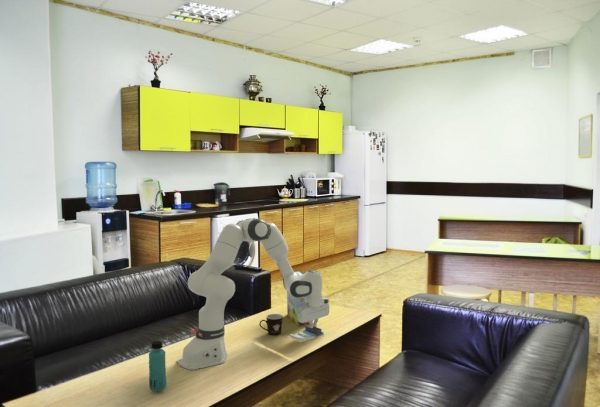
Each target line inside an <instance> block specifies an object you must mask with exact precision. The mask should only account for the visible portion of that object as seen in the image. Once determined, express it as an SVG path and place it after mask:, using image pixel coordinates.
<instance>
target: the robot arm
mask: <svg viewBox="0 0 600 407" xmlns="http://www.w3.org/2000/svg"><path fill="white" fill-rule="evenodd" d="M245 242H250V243H254V242H260V243H261V244H262V246H263V248H264V249H265V252H266V253H267V255H268V256H269V258H270V259H271V260H272V261H273V262H274V263H275V265H276V266H277V268H278V270H279V272H280V274H281V276H282V285H283V288H284V289H285V290H286V292H287V291H289V293H290V294H291V295H292V296H294V297H297V298H300V297H304V296H305V304H302V305H301V306H300V307H299V310H298V316H297V320H298V322H300V323H305V322H308V321H309V323H310V324H309V325H310V327H311V328H314V327H317V325H318V322H319V319H321V318H324V317H326V316H329V315H330V304H329V303H330V298H327V297H323V292H322V290H323V276H322V273H321V272H320V271H318V270H313V269H308V270H307V271H306V272H304V273H302V274H303V275H301V276H299V275H298V274H296V273H295V272H296V271H294V269H293V267H292V266H291V263H290V261H289V259H288V255H289V251H290V250H289V246H288V244H287V241H286V239H285V237H284V235H283V233H282V232H281V231H280V228H278V227H277V225H276V224H275V223H273V222H267V221H265V220H264V219H261V218H247V219H244V220H243V219H242V220H240V221H238V222H237V223H236V224H235V223H228V224H226V225H225V226H224V227H223V229H222V230H221V232H220V234H219V235H218V237H217V240H216V242H215V244H214V246H213V249H212V251H211V253H210V255H209V256H208V258H207V260H206V261H205V262H204V263H203V265H202V266H200V268H199V269H198V270H196V271H194V272H192V273H191V274H190V275H189V277H188V279H187V287H188V290H190V291H191V292H192V293H194V294H195V295H198V296H200V297H201V296H202V297H205V299H206V300H205V304H204V306H202V307H201V308H200V309H199V311H198V328H197V329H196V328H195V329H194V328H192V329H191V330H190V333H191V334H192V335H195V336H194V337H193V338H192V339H191V340H190V341H189V342H188V343H187V344H186V345H185V346H184V347H183V350H182V356H180V357H178V358H177V362H176V363H177V364H178V365H179V366H180V367H182V368H183V369H186V370H190V371H194V370H199V368H200V369H205V368H208V367H212V366H216V365H220V364H224V363H225V360H226V359H227V357H228V353H227V350H226V346H225V345H226V344H225V331H226V330H225V324H224V316H225V314H224V313H225V308H226V305H227V303H228V301H229V300H230V299H232V297H234V294H235V292H236V284H235V281H234V280H232V278H229V277H227V276H225V275H222V274H223V273H224V272H225V271H226V270H228V269H229V268H231V267H232V266H233V265H234V263H235V261H236V257H237V255H238V253H239V251H240V250H239V249H240V247H241V245H242V243H245ZM317 328H318V327H317Z"/></svg>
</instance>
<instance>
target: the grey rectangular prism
mask: <svg viewBox="0 0 600 407" xmlns="http://www.w3.org/2000/svg"><path fill="white" fill-rule="evenodd" d="M304 326H305V327H304V328H305V329H304V330H306V331H308V332H311V333H313V334H316V336H318V335H321V331H322V328H319V327H314V328H311V327H310V324H306V325H304ZM321 336H322V335H321ZM318 337H319V336H318Z"/></svg>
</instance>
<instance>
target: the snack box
mask: <svg viewBox="0 0 600 407" xmlns="http://www.w3.org/2000/svg"><path fill="white" fill-rule="evenodd" d="M294 272H295V273H296V274H298V275H299V276H301V275H303V274H304V273H302V272H301V271H294ZM286 304H287V306H286V307H287V308H286V309H287V311H286V312H287V313H286V314H287V316H288V317H289V318H290V319H291V321H292V322H294V323H295V324H296V325H297V326H302V325H303V326H306V325H310V323H309V321H308V322H305V323H300V322H298V320H297V316H298V310H299V307H300V306H301V305H302V304H305V296H304V297H300V298H297V297H294V296H292V295H291V294H290V293H289V291H287V290H286Z"/></svg>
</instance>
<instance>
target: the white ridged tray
mask: <svg viewBox="0 0 600 407" xmlns="http://www.w3.org/2000/svg"><path fill="white" fill-rule="evenodd" d="M326 334H327V333H325V332H324V331H322V330H321V335H318V336H316V334H313V333H311V332H308V331H306V330H305V329H304V330H302V331H298V332H297V333H294V334H293V333H290V334H289V335H288V336H287V338H289V339H292V340H294V341H295V342H298V343H304V342H307V341H309V340H313V339H315V338H319V337H321V336H323V335H326Z"/></svg>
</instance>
